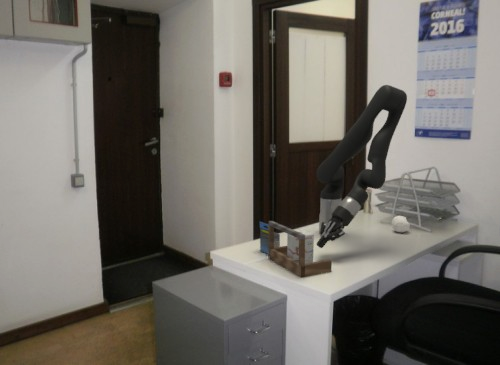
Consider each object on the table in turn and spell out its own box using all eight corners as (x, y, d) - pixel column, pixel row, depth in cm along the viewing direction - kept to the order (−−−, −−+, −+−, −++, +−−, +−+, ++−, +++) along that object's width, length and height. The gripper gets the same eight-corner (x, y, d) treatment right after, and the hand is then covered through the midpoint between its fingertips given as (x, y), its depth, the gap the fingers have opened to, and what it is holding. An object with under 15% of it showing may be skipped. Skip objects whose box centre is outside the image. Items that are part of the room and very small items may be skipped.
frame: (268, 258, 176) (268, 221, 174) (296, 253, 182) (296, 217, 179) (301, 277, 156) (301, 235, 153) (331, 271, 161) (331, 230, 159)
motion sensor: (412, 234, 207) (412, 217, 206) (396, 235, 206) (396, 218, 205) (404, 229, 215) (404, 213, 214) (388, 230, 214) (389, 214, 213)
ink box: (292, 268, 165) (292, 236, 164) (286, 263, 170) (286, 232, 168) (313, 264, 168) (314, 233, 167) (307, 260, 173) (307, 230, 171)
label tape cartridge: (280, 254, 181) (280, 224, 179) (272, 256, 179) (272, 225, 177) (267, 249, 188) (267, 219, 186) (259, 250, 186) (259, 221, 184)
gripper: (330, 201, 180) (303, 236, 177) (351, 208, 168) (323, 245, 165) (341, 213, 183) (315, 247, 180) (362, 220, 171) (335, 257, 168)
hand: (318, 246), depth 172 cm, fingers closed
